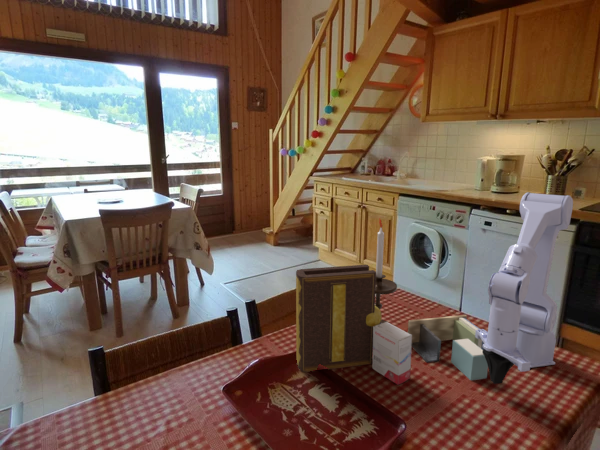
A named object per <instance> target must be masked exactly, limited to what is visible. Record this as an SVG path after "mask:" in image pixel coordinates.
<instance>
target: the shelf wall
mask: <svg viewBox="0 0 600 450" xmlns="http://www.w3.org/2000/svg"><path fill="white" fill-rule="evenodd" d="M459 318H466V319H467V318H468V315H466V314H461V315H449V316H440V317H430V318H420V319H409V320H408V322H407V333H409V334H411V335H412V343H414V342H419V336H420V324H424V325H425V326H426V327H427V328H428V329H429V330H430V331H431V332H432V333H434V334H435V335H436V336H437V337H438V338H439V339H440V340H441V342H443V341H450V340H452V341H453V331H454V321H455V320H459ZM467 320H468V319H467Z"/></svg>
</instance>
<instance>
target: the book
mask: <svg viewBox="0 0 600 450" xmlns="http://www.w3.org/2000/svg"><path fill="white" fill-rule="evenodd" d="M375 287H376V270H375V269H371V270H370V265H368V264H356V265H354V264H353V265H341V266H328V267H327V266H325V267H313V268H311V267H310V268H302V269H301V268H299V269H297V270H296V271H295V292H296V293H295V295H296V297H295V301H296V303H295V305H296V306H295V307H296V308H295V309H296V311H295V312H296V313H295V318H296V319H295V321H296V323H295V324H296V325H295V331H296V333H295V334H296V335H295V337H296V339H295V343H296V345H295V346H296V347H295V348H296V349H295V350H296V359H295V360H297V363H296V366H297V365H298V366H297V369H298V368H299V369H300V370H301V371H300V370H299V369H298V370H299V371H300V372H302V373H311V372H310V371H312V372H314V371H313V370H317V368H318V365H319V364H321V365H323V366H325V367H327V368H329V369H328V370H333V369H335V370H336V369H340V368H341V369H343V368H349V367H350V368H351V367H358V366H366V365H367V366H368V365H373V326H376V325H378V324H380V322H381V320H382V317H383V316H382V311H381V309H379V308H378V307H376V306H375V303H376V294H375Z"/></svg>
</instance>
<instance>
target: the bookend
mask: <svg viewBox="0 0 600 450" xmlns="http://www.w3.org/2000/svg"><path fill="white" fill-rule="evenodd" d="M441 344H442V341H441V340H440V339H439V338H438V337H437V336H436V335H435V334H434V333H432V332H431V331H430V330H429V329H428V328H427V327H426V326H425V325H424V324H420V336H419V342H414V343H411V348H412V349H414V350H415V352H416V353H417V354H418V355H419V356H420V357H421V358H422V359H423V360H424V362H426V363H435V362H440V358H441V348H442V347H441V346H442V345H441Z"/></svg>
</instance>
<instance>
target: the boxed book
mask: <svg viewBox="0 0 600 450" xmlns="http://www.w3.org/2000/svg"><path fill="white" fill-rule="evenodd" d="M451 347H452V349H451V358H450V359H451V360H450V363H451V364H452V365H454V366H455V367H456V369H458V370H459V371H460V372H461V373H462V374H463V376H465V377H466V378H467V379H468V380H469V381H476V380H477V381H478V380H484V379H488V372H489V369H488V364H487V361H486V359H485V356H484V354H483V353H482V352H483V350H482V349H481V348H480V347H478V346H477V345H476V344H474V343H473V342H472V341H471V340H469V339H460V340H453V339H452V346H451Z"/></svg>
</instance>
